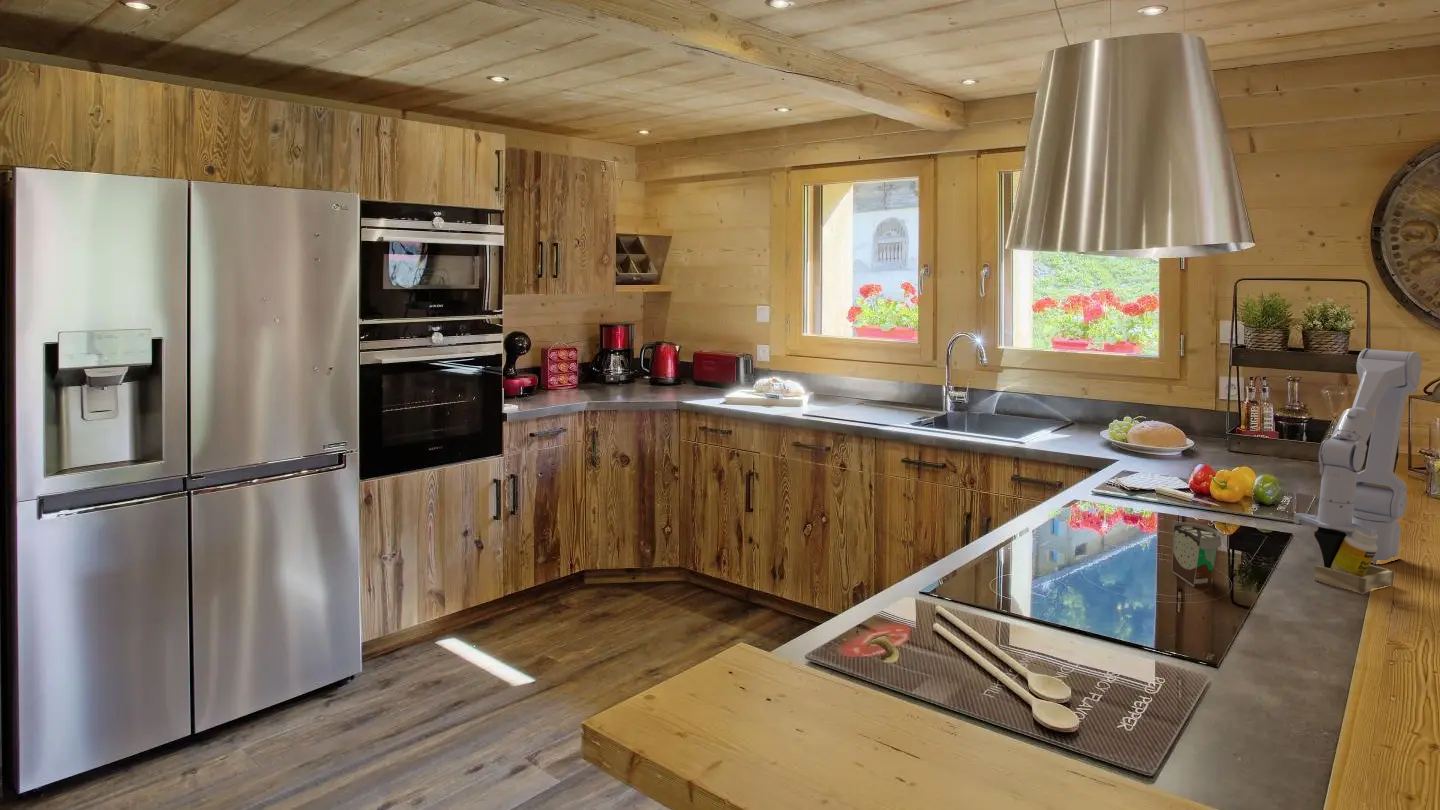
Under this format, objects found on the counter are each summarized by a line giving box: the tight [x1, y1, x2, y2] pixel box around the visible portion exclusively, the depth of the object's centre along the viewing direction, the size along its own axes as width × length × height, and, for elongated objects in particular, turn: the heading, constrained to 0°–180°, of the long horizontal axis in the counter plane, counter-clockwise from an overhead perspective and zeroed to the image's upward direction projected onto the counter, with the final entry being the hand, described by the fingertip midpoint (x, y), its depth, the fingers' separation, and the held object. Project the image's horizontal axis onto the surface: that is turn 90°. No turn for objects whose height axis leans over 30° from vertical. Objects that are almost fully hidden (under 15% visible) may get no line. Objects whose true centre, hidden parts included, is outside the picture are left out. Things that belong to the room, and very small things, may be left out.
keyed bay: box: [1313, 564, 1395, 593], centre depth 183 cm, size 11×9×3 cm
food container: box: [1171, 521, 1222, 588], centre depth 184 cm, size 12×6×10 cm, turn 179°
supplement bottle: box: [1330, 527, 1378, 576], centre depth 183 cm, size 6×6×10 cm
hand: (1329, 567), depth 187 cm, fingers closed
